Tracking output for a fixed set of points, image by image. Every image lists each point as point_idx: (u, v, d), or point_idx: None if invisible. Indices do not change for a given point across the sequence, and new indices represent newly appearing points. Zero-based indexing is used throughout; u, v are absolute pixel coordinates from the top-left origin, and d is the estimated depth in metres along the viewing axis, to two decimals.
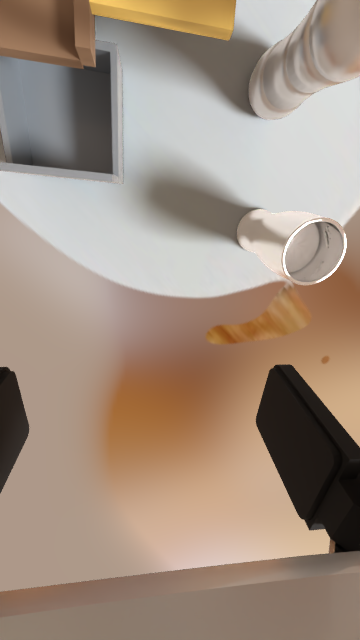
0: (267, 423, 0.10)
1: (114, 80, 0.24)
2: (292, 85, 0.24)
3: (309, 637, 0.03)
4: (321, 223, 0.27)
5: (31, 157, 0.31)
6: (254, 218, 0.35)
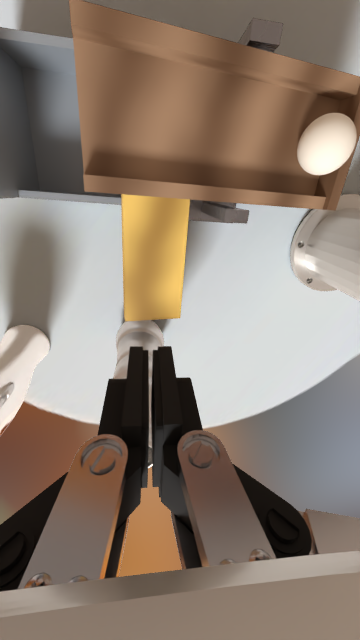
0: None
1: (109, 201, 0.24)
2: (119, 361, 0.29)
3: (309, 636, 0.03)
4: None
5: (35, 68, 0.24)
6: (31, 342, 0.34)
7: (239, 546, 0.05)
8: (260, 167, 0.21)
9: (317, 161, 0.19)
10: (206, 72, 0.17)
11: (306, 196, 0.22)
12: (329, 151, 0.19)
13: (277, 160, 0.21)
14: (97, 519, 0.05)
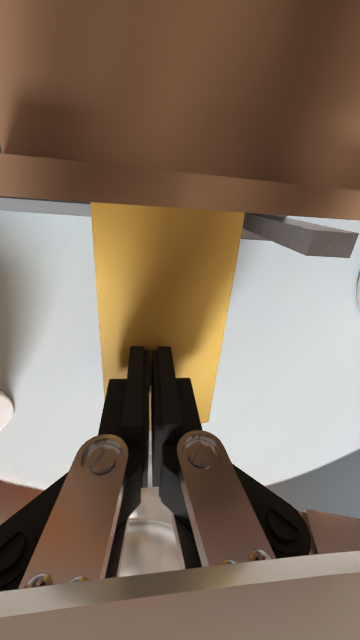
0: (151, 402, 0.10)
1: (83, 211, 0.14)
2: None
3: (309, 636, 0.03)
4: None
5: None
6: None
7: (239, 546, 0.05)
8: None
9: None
10: None
11: None
12: None
13: None
14: (97, 519, 0.05)
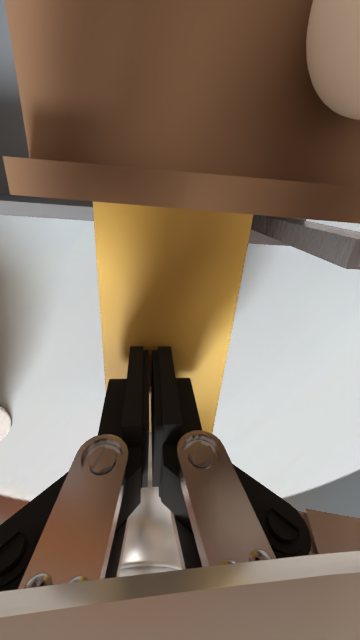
0: (151, 402, 0.10)
1: (84, 214, 0.12)
2: None
3: (309, 636, 0.03)
4: None
5: None
6: None
7: (239, 545, 0.05)
8: None
9: None
10: None
11: None
12: None
13: None
14: (97, 519, 0.05)
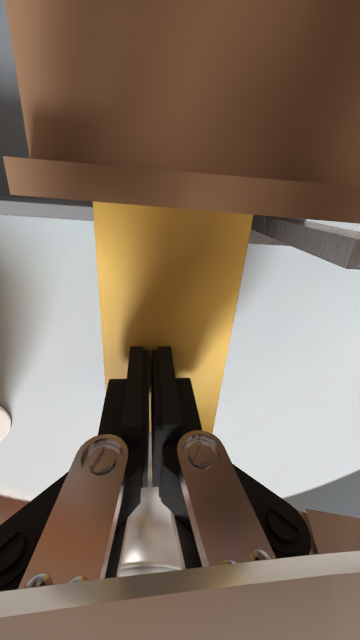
0: (151, 402, 0.10)
1: (83, 215, 0.12)
2: None
3: (309, 636, 0.03)
4: None
5: None
6: None
7: (239, 546, 0.05)
8: None
9: None
10: None
11: None
12: None
13: None
14: (97, 519, 0.05)
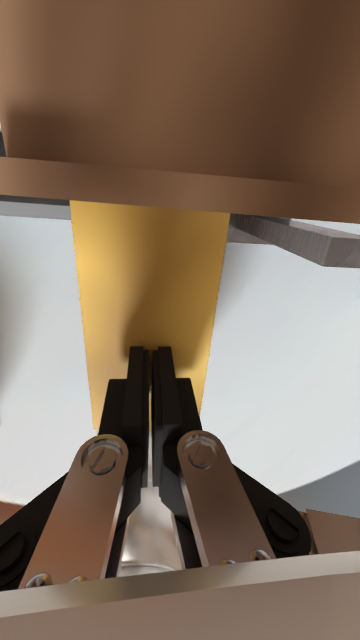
0: (151, 402, 0.10)
1: (66, 214, 0.12)
2: None
3: (309, 636, 0.03)
4: None
5: None
6: None
7: (239, 546, 0.05)
8: None
9: None
10: None
11: None
12: None
13: None
14: (98, 519, 0.05)
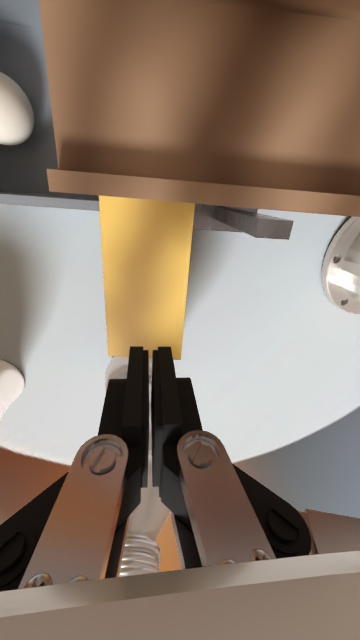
0: (151, 402, 0.10)
1: (89, 206, 0.17)
2: None
3: (308, 636, 0.03)
4: None
5: None
6: None
7: (239, 546, 0.05)
8: (315, 156, 0.14)
9: (24, 133, 0.18)
10: (230, 11, 0.11)
11: None
12: (31, 124, 0.18)
13: (346, 145, 0.14)
14: (97, 519, 0.05)
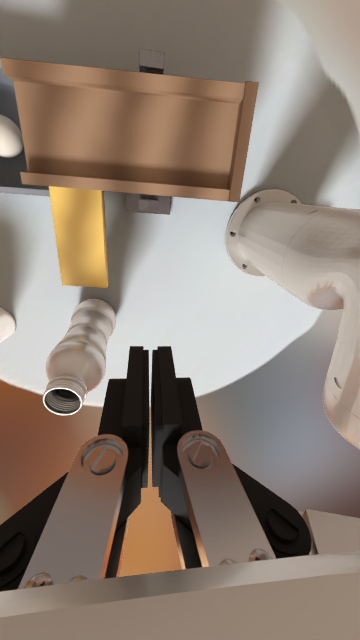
0: (151, 402, 0.10)
1: None
2: (67, 333, 0.33)
3: (309, 636, 0.03)
4: None
5: None
6: None
7: (239, 545, 0.05)
8: (168, 164, 0.25)
9: (19, 151, 0.30)
10: (110, 93, 0.23)
11: (208, 189, 0.25)
12: None
13: (184, 159, 0.25)
14: (97, 519, 0.05)
